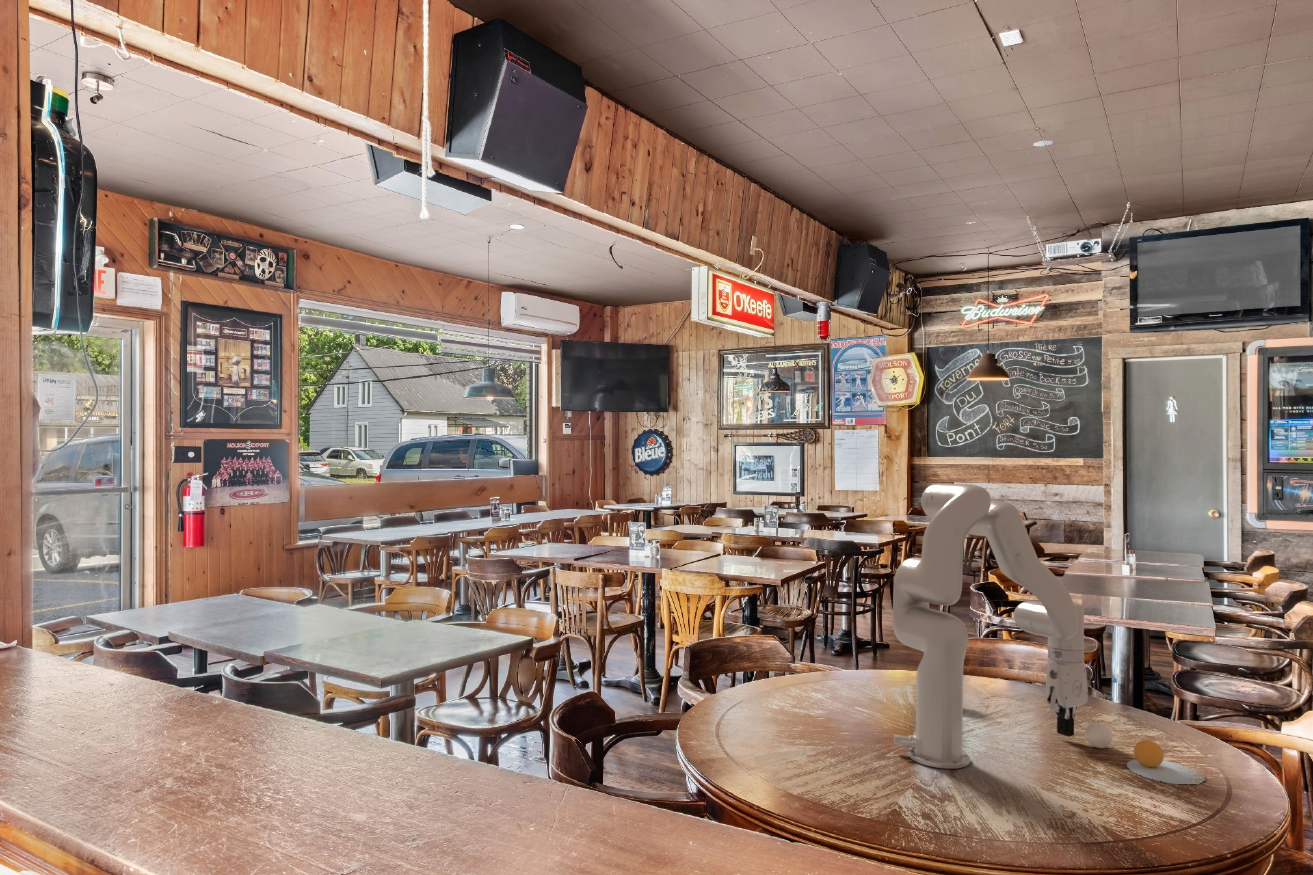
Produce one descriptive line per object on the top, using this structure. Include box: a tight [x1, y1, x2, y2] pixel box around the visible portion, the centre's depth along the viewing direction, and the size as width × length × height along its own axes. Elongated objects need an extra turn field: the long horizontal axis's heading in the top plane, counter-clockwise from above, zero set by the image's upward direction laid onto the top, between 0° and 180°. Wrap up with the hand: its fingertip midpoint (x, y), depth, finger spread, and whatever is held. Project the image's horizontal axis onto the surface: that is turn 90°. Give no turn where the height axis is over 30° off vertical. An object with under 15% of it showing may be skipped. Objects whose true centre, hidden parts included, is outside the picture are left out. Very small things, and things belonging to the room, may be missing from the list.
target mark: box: [1126, 758, 1206, 786], centre depth 172 cm, size 14×14×1 cm
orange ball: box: [1133, 739, 1165, 767], centre depth 175 cm, size 6×6×6 cm
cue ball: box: [1084, 722, 1113, 749], centre depth 187 cm, size 6×6×6 cm
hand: (1065, 734), depth 191 cm, fingers closed
